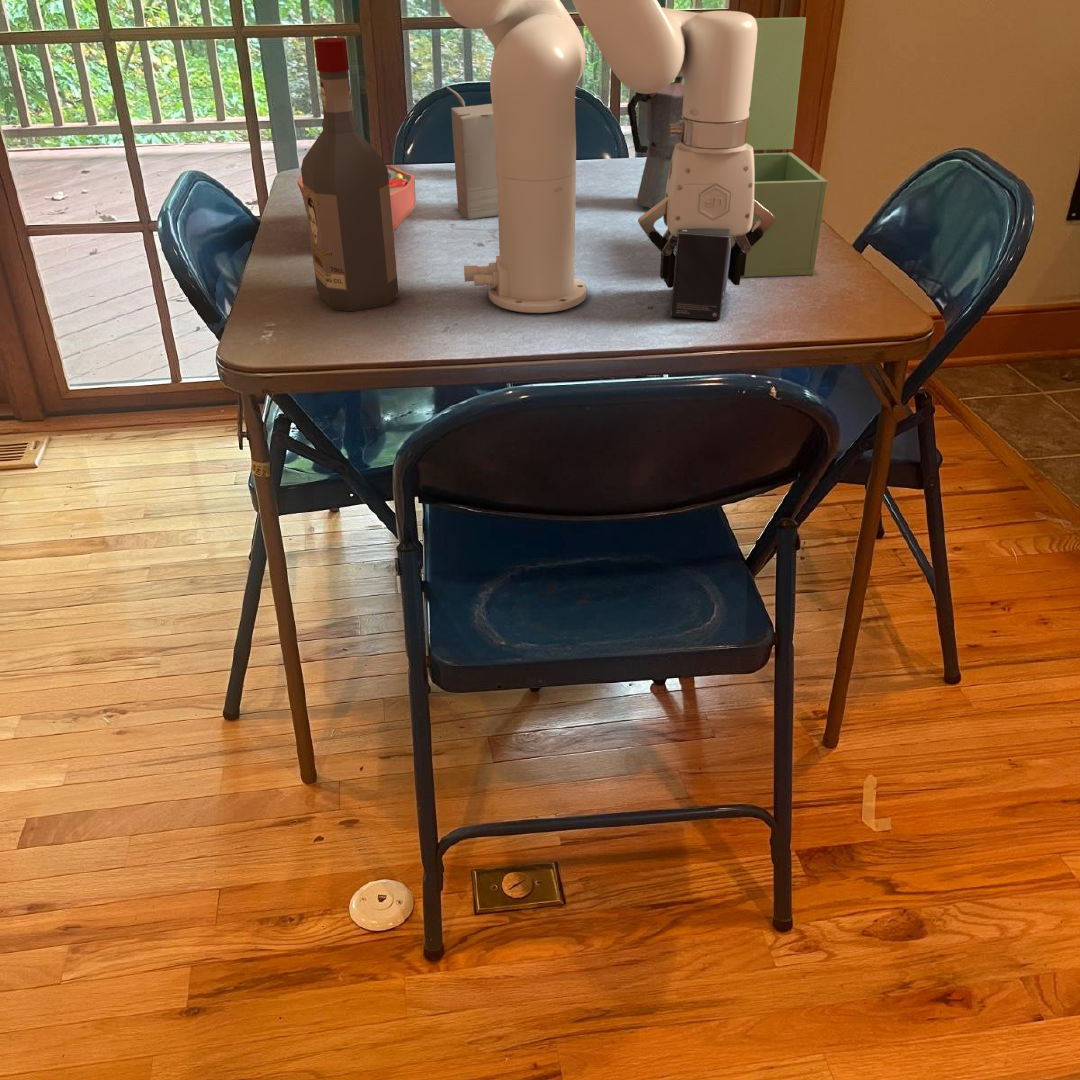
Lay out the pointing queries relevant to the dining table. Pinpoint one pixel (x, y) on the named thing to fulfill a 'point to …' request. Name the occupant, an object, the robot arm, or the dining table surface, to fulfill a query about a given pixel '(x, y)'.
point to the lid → (775, 83)
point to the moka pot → (657, 138)
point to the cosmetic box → (475, 160)
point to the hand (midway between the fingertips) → (701, 282)
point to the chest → (786, 216)
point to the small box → (700, 273)
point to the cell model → (394, 194)
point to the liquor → (347, 198)
